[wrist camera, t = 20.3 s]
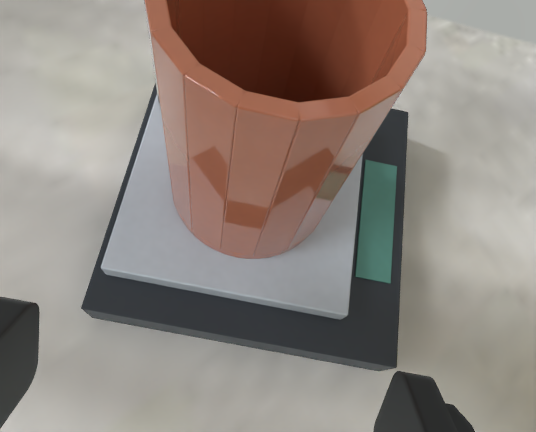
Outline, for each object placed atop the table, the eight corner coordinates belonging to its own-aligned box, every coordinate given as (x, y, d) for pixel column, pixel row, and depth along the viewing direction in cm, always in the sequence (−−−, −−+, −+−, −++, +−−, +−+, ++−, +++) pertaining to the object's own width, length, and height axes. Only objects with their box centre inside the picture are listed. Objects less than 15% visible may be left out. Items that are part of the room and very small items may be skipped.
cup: (153, 241, 18) (105, 79, 9) (191, 106, 21) (183, -123, 12) (316, 273, 19) (424, 147, 10) (333, 136, 22) (430, -62, 12)
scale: (91, 317, 20) (74, 303, 17) (166, 83, 25) (161, 43, 22) (379, 371, 21) (406, 365, 18) (394, 132, 26) (416, 100, 23)
